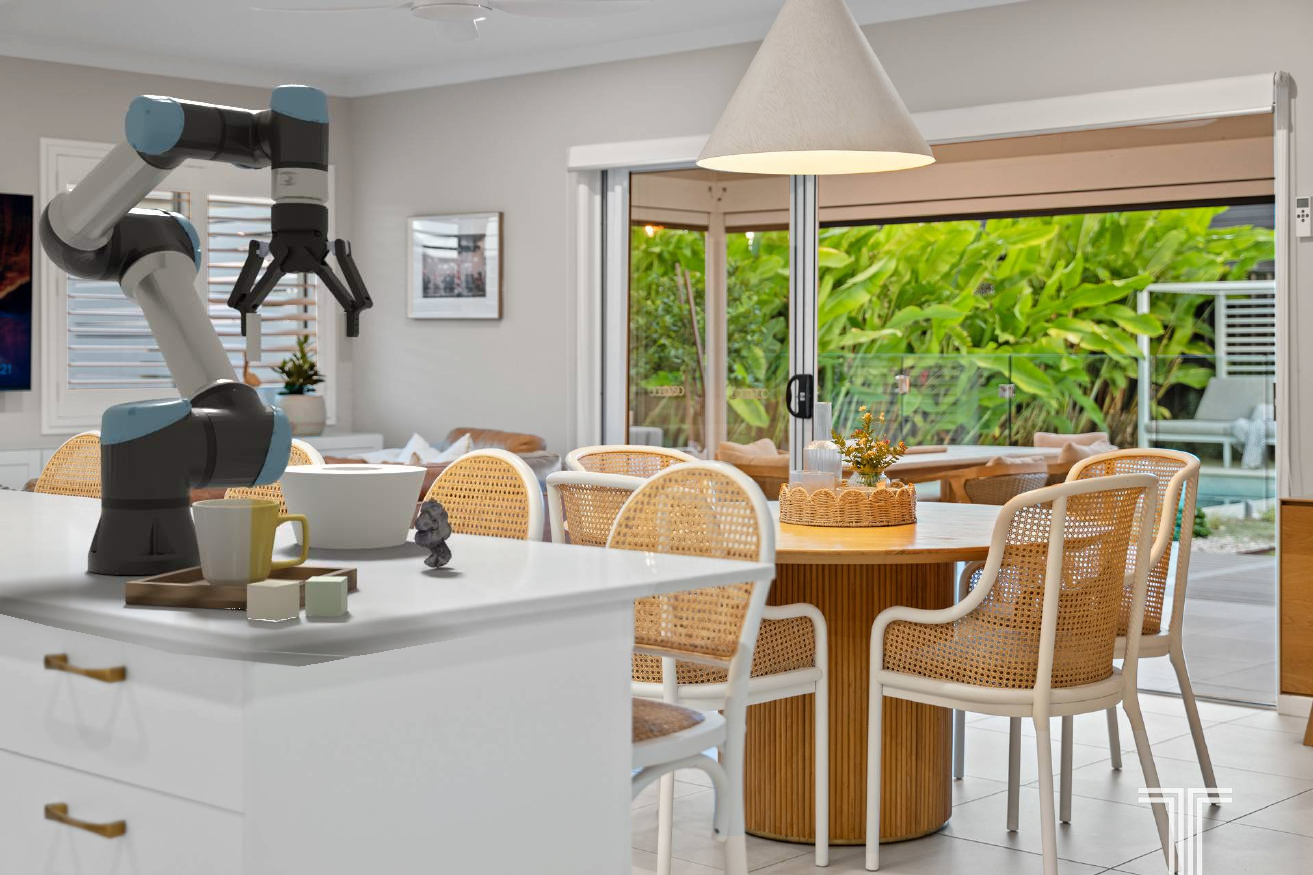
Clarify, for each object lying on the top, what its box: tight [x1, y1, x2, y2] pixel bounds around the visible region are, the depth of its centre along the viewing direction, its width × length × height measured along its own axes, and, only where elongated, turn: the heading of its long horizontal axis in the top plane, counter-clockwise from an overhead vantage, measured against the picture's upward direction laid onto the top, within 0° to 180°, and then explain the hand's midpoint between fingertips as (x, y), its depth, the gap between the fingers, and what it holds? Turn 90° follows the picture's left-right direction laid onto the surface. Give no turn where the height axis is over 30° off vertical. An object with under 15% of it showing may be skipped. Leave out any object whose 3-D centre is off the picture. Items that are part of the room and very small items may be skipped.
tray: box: [124, 565, 358, 610], centre depth 176 cm, size 20×20×2 cm
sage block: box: [304, 577, 349, 617], centre depth 164 cm, size 4×4×4 cm
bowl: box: [278, 463, 428, 550], centre depth 233 cm, size 24×24×12 cm
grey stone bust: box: [413, 496, 453, 569], centre depth 204 cm, size 5×5×10 cm
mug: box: [191, 497, 310, 587], centre depth 176 cm, size 14×10×10 cm
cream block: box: [246, 580, 300, 621], centre depth 160 cm, size 4×4×4 cm
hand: (299, 362), depth 195 cm, fingers open, 13 cm apart
